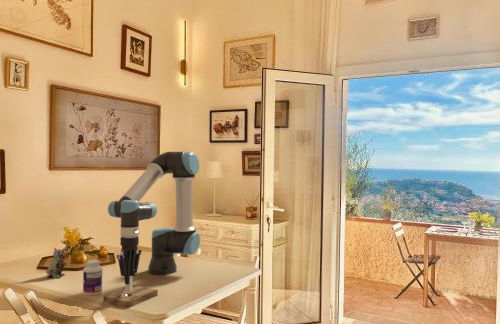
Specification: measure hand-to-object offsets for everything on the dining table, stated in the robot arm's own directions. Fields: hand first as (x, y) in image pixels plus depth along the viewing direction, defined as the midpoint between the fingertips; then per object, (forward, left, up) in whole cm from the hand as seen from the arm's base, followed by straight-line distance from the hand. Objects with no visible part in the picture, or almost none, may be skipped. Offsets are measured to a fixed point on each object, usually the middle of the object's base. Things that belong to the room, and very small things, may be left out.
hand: (128, 291), depth 179 cm
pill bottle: (-20, -1, -4) cm, 20 cm away
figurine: (-57, +9, -4) cm, 58 cm away
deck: (0, +2, -4) cm, 4 cm away
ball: (0, -3, -4) cm, 5 cm away
